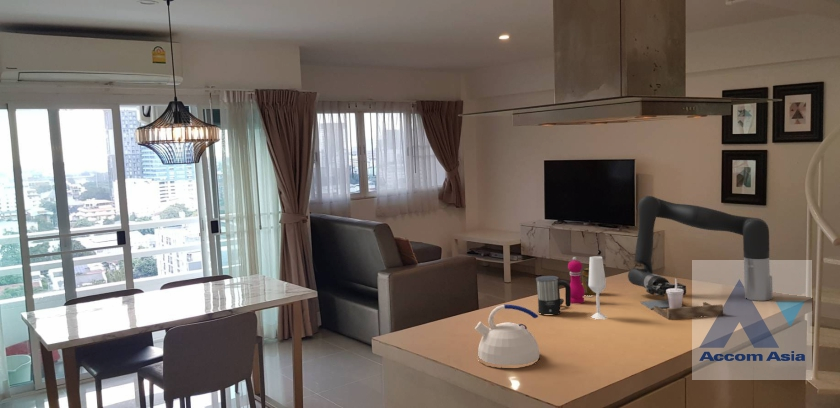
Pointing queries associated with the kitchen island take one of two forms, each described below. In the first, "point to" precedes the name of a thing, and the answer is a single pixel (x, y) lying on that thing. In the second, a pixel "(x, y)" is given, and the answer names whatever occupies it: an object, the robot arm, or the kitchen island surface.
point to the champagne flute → (597, 281)
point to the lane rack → (690, 311)
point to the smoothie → (675, 296)
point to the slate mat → (656, 304)
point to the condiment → (585, 283)
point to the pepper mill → (576, 281)
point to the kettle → (507, 341)
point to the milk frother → (551, 294)
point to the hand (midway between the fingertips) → (674, 292)
